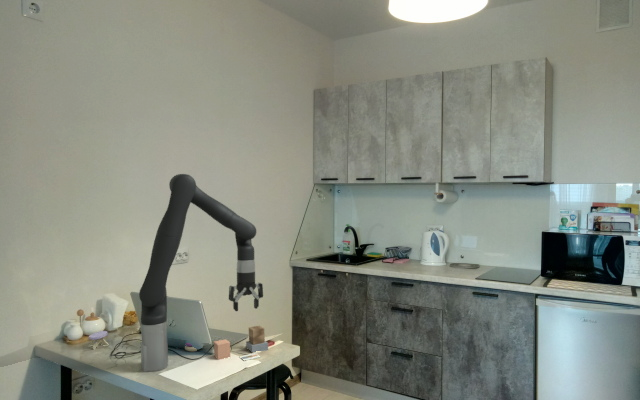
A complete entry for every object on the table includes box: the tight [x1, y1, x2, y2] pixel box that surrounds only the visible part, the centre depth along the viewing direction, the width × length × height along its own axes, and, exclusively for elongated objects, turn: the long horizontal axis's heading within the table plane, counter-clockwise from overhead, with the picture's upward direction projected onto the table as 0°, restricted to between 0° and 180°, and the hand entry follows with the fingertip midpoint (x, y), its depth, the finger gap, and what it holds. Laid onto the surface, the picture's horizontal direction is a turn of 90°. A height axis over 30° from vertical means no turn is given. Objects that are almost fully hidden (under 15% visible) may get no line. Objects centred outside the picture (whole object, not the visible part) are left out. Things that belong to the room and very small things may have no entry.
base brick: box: [245, 340, 269, 354], centre depth 188 cm, size 7×7×3 cm
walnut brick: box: [248, 325, 266, 345], centre depth 188 cm, size 5×5×6 cm
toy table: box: [88, 330, 110, 349], centre depth 197 cm, size 10×9×6 cm
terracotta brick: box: [213, 338, 231, 361], centre depth 181 cm, size 5×5×6 cm
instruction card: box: [239, 353, 261, 362], centre depth 179 cm, size 7×5×1 cm
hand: (246, 309), depth 186 cm, fingers open, 8 cm apart
